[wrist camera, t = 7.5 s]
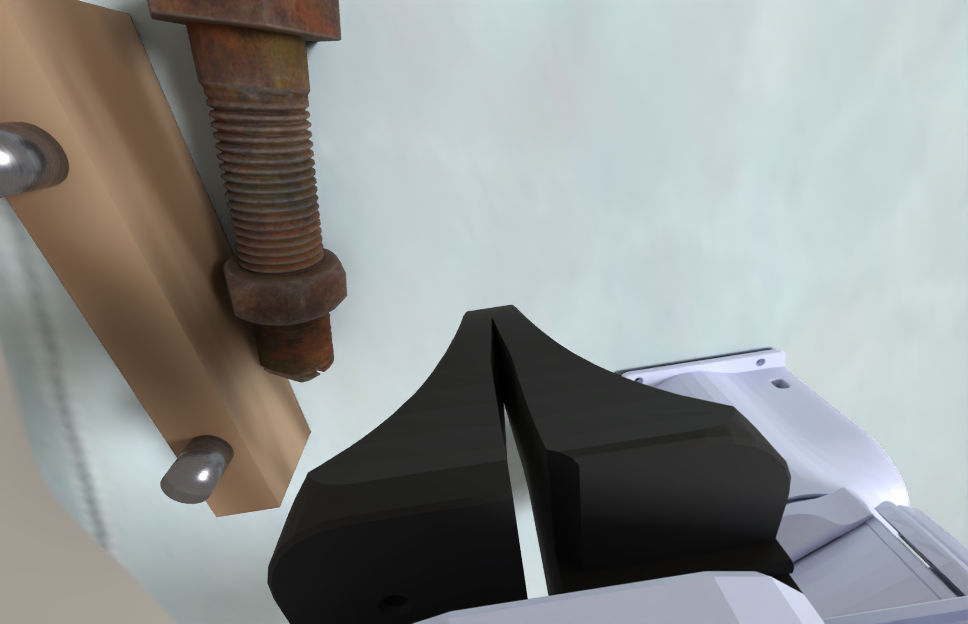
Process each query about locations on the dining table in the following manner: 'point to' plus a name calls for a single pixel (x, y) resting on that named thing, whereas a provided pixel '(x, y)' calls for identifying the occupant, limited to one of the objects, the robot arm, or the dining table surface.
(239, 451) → the bench stop
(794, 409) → the robot arm
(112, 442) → the dining table surface
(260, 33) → the bolt
